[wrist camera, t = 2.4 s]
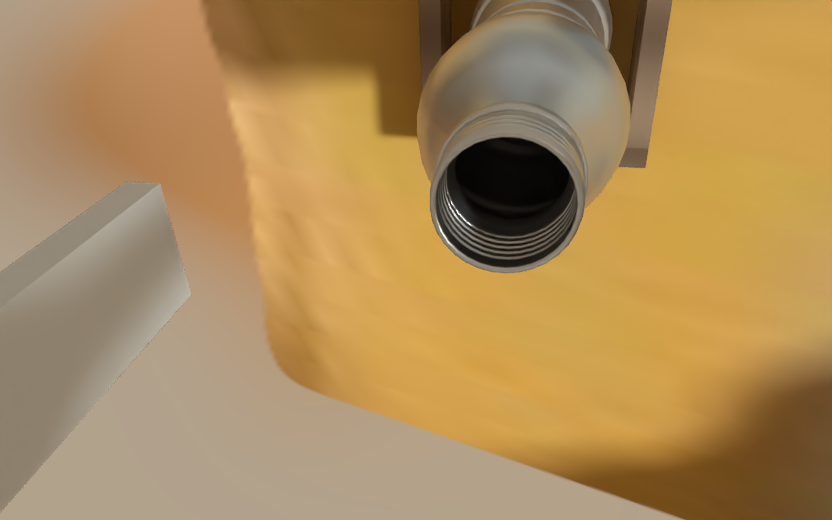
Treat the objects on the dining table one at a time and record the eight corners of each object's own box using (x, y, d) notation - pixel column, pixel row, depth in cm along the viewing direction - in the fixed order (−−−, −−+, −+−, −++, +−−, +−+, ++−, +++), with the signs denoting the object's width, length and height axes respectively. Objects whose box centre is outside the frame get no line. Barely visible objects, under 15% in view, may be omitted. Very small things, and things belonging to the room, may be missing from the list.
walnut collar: (639, 145, 33) (645, 167, 31) (434, 138, 35) (424, 158, 33) (680, -121, 27) (691, -120, 24) (428, -110, 29) (414, -108, 26)
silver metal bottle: (634, -22, 29) (718, 120, 12) (573, 111, 33) (574, 357, 16) (504, -70, 29) (415, 9, 13) (458, 69, 33) (342, 270, 16)
